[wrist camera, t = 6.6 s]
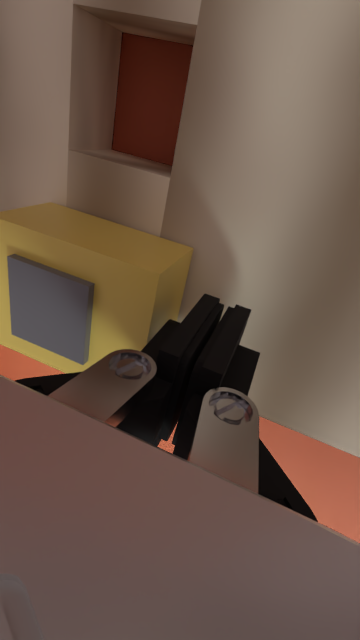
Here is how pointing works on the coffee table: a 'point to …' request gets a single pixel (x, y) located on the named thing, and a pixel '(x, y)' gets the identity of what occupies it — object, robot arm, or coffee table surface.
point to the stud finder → (83, 285)
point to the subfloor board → (215, 170)
